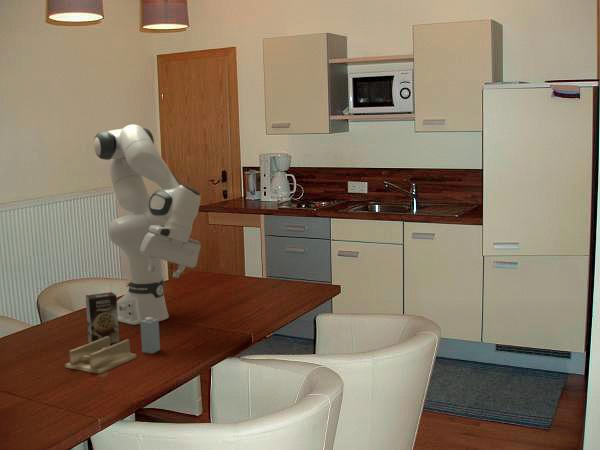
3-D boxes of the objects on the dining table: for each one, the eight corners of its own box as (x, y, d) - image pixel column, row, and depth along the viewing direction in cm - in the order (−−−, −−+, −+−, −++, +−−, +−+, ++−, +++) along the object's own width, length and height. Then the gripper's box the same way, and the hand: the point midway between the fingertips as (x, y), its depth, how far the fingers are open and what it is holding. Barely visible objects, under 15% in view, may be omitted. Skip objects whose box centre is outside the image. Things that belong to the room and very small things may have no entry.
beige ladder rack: (64, 367, 226) (63, 350, 225) (102, 351, 240) (101, 335, 239) (99, 373, 219) (98, 356, 218) (136, 357, 233) (135, 340, 232)
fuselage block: (142, 352, 238) (140, 319, 237) (150, 348, 242) (148, 315, 240) (152, 353, 236) (149, 320, 235) (160, 349, 240) (158, 317, 238)
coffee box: (92, 347, 245) (88, 298, 243) (88, 342, 251) (84, 294, 248) (120, 342, 249) (116, 295, 247) (115, 337, 255) (112, 291, 252)
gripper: (197, 240, 255) (184, 279, 255) (145, 224, 243) (132, 265, 242) (206, 243, 250) (194, 283, 250) (154, 227, 238) (140, 269, 237)
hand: (163, 274), depth 246 cm, fingers open, 8 cm apart
